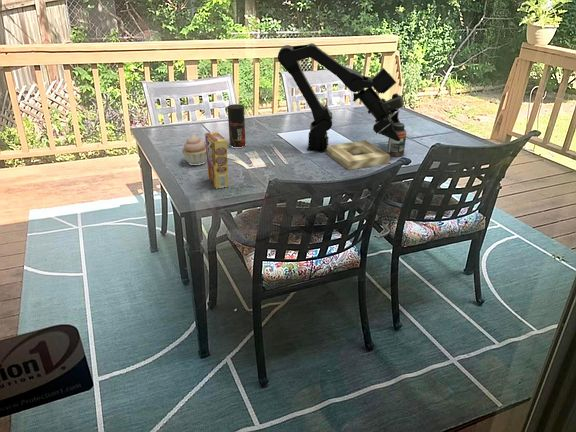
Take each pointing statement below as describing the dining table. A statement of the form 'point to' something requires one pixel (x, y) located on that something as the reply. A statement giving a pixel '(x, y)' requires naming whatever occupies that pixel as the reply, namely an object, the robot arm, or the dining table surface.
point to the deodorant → (236, 125)
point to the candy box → (217, 159)
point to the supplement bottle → (398, 147)
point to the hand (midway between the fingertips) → (401, 136)
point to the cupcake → (195, 150)
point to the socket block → (367, 159)
